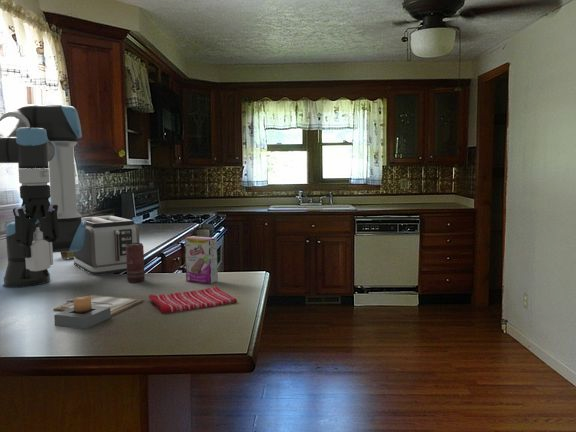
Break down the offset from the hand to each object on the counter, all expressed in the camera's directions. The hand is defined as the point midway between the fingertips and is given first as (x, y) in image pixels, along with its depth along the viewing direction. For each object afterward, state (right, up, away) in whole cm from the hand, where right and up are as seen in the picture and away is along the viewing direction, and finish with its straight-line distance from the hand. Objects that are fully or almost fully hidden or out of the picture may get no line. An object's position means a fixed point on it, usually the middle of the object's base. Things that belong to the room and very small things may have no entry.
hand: (39, 266), depth 136 cm
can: (+14, -10, +43) cm, 46 cm away
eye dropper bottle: (0, -1, 0) cm, 1 cm away
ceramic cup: (-34, -6, +92) cm, 98 cm away
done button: (+14, -11, -5) cm, 19 cm away
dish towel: (+40, -13, +15) cm, 45 cm away
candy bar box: (+38, -10, +41) cm, 57 cm away
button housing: (+14, -15, -4) cm, 21 cm away
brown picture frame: (+13, -13, +11) cm, 21 cm away
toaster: (-8, -8, +70) cm, 70 cm away
